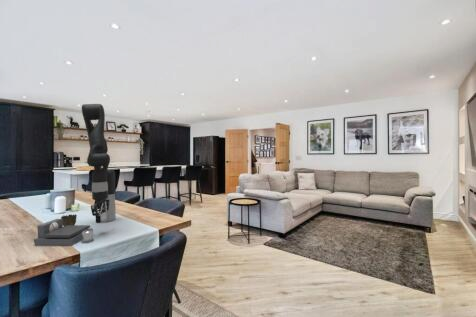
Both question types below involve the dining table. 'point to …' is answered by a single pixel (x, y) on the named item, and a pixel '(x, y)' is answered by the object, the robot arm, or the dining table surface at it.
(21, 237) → the dining table surface
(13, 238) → the dining table surface
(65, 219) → the cup
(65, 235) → the pan
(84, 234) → the steel spacer
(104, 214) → the steel spacer
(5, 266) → the dining table surface
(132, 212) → the dining table surface
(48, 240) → the scale base
